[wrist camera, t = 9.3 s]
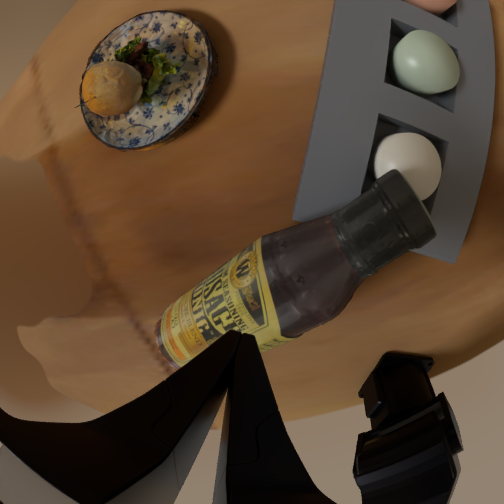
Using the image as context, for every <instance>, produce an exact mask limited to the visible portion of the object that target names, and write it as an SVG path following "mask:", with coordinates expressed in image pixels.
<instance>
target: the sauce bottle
mask: <svg viewBox="0 0 504 504" xmlns="http://www.w3.org/2000/svg"><path fill="white" fill-rule="evenodd" d="M436 235H437V231H436V228H435V225H434V223H433V220H432V219H431V217H430V215H429V213H428V211H427V209H426V208H425V206H424V204H423V203H422V201H421V200H420V198H419V197H418V195H417V194H416V192H415V191H414V189H413V188H412V186H411V185H410V183H409V182H408V181H407V179H406V178H405V177H404V175H403V174H402V173H401V172H399V171H398V170H397V169H392V170H390V171H389V172H386V173H385V174H384V175H382V176H381V177H379V178H377V179H376V181H375V182H374V184H373V186H372V187H371V188H370V189H369V190H368V191H366V192H365V193H363V194H362V195H360V196H359V197H357V198H356V199H355V200H353V201H352V202H350V203H349V204H348V205H346V206H344V207H343V208H342V209H340V210H336V211H335V212H334V213H332V214H329V215H326V216H323V217H319V218H316V219H313V220H310V221H307V222H304V223H301V224H298V225H295V226H292V227H289V228H286V229H283V230H280V231H277V232H274V233H271V234H268V235H265V236H262V237H261V238H259V239H258V240H256V241H255V242H254V243H252V244H251V245H250V246H248V247H247V248H245V249H244V250H243V251H241V252H240V253H239V254H238V255H236V256H235V257H234V258H232V259H230V260H229V261H228V262H227V263H225V264H224V265H223V266H221V267H220V268H218V269H217V270H216V271H215V272H213V273H212V274H211V275H209V276H208V277H207V278H205V279H204V280H203V281H201V282H200V283H199V284H198V285H196V286H195V287H193V288H192V289H191V290H189V291H188V292H187V293H185V294H184V295H183V296H181V297H180V298H179V299H177V300H176V301H175V302H173V303H172V304H171V305H170V306H169V307H168V308H167V309H166V311H165V312H164V313H163V314H162V315H161V317H160V318H159V320H158V322H157V324H156V329H155V332H154V333H155V340H156V344H157V347H158V350H159V351H160V354H161V356H162V358H163V360H164V361H165V362H166V363H167V364H168V365H170V366H172V367H173V368H175V369H176V370H178V369H180V368H181V367H182V366H184V365H185V364H186V363H188V362H189V361H190V360H192V359H193V358H194V357H196V356H197V355H198V354H199V353H201V352H202V351H203V350H205V349H206V348H207V347H208V346H210V345H211V344H212V343H213V342H215V341H216V340H217V339H219V338H220V337H221V336H222V335H224V334H225V333H226V332H227V331H229V330H230V329H232V330H236V331H240V332H242V334H243V333H248V334H253V335H254V336H255V337H256V341H257V344H258V347H259V350H260V353H262V352H265V351H267V350H269V349H272V348H274V347H277V346H279V345H282V344H284V343H286V342H288V341H291V340H293V339H295V338H298V337H299V336H301V335H302V334H303V333H304V332H307V331H309V330H311V329H313V328H315V327H318V326H319V325H323V324H325V323H327V322H328V321H330V320H332V319H333V318H335V317H336V316H337V315H339V314H340V313H341V312H342V311H343V309H344V308H345V307H346V305H347V304H348V302H349V301H350V300H351V298H352V296H353V293H354V292H355V291H356V289H357V288H358V287H359V286H360V284H361V283H362V282H363V281H364V279H365V278H366V277H369V276H370V275H373V274H375V273H377V271H378V270H379V269H380V268H382V267H383V266H385V265H387V264H389V263H390V262H391V261H393V260H394V259H396V258H398V257H399V256H401V255H403V254H404V253H406V252H407V251H408V250H412V249H418V248H421V247H423V246H424V245H425V244H427V243H428V242H430V241H431V240H432V239H434V238H435V237H436Z"/></svg>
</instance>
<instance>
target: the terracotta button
mask: <svg viewBox="0 0 504 504" xmlns="http://www.w3.org/2000/svg"><path fill="white" fill-rule="evenodd" d="M402 1H404V2H407V3H409V4H411V5H414V6H416V7H418V8H420V9H422V10H425V11H427V12H429V13H431V14H433V15H435V16H437V17H438V16H439V15H441V14H442V13H443V12H444V11H446V10H447V9H448V8H450V7H451V6H452V5H453V4H455V3H456V2H457V0H402Z"/></svg>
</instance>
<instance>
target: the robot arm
mask: <svg viewBox="0 0 504 504" xmlns="http://www.w3.org/2000/svg"><path fill="white" fill-rule="evenodd" d="M386 358H387V359H386ZM433 364H434V360H433V358H427V357H417V356H408V355H400V354H392V353H386V354H384V355H383V356H382V357H381V359H380V360H379V362H378V364H377V365H376V367H375V368H374V370H373V371H372V372H371V373H370V375H369V377H368V378H367V380H366V381H365V383H364V384H363V385H362V388H361V389H360V391H359V392H358V395H359V397H360V398H364V405H365V411H366V416H367V418H370V420H371V428H372V430H370V431H368V432H363V433H360V434H359V435H358V441H357V446H356V453H355V459H354V465H353V474H354V479H355V481H356V483H357V486H358V487H359V488H360V490H361V495H362V504H449V502H450V499H451V497H452V494H453V492H454V489H455V486H456V483H457V480H458V477H459V474H460V471H461V467H460V463H459V459H458V456H457V453H459V452H461V451H463V445H462V440H461V435H460V431H459V427H458V424H457V421H456V418H455V415H454V413H453V410H452V408H451V406H450V404H449V402H448V401H447V398H446V396H445V394H444V393H443V392H442V393H440V394H438V396H437V397H436V396H435V393H434V390H433V387H432V385H431V382H430V379H429V377H428V374H427V373H428V371H429V370H430V369H431V367H432V366H433ZM227 389H228V391H227ZM226 392H227V397H226V404H225V411H224V418H223V426H222V434H221V441H220V449H219V456H218V464H217V472H216V480H215V487H214V494H213V502H212V504H337V503H335V502H334V501H332V500H331V499H330V498H328V497H327V496H325V495H324V494H323V493H322V492H321V491H320V490H319V489H318V488H317V487H316V485H315V484H314V483H313V481H312V479H311V478H310V476H309V474H308V472H307V471H306V469H305V467H304V465H303V463H302V461H301V459H300V457H299V456H298V454H297V452H296V450H295V448H294V446H293V444H292V442H291V440H290V438H289V436H288V434H287V431H286V428H285V426H284V423H283V421H282V418H281V415H280V412H279V411H278V410H279V409H278V406H277V403H276V400H275V397H274V394H273V391H272V388H271V384H270V381H269V378H268V375H267V372H266V369H265V366H264V363H263V360H262V356H261V353H260V350H259V347H258V344H257V341H256V337H255V336H254V335H253V334H248V333H243V334H242V332H240V331H236V330H232V329H230V330H229V331H227V332H226V333H225V334H224V335H222V336H221V337H220V338H219V339H217V340H216V341H215V342H213V343H212V344H211V345H210V346H208V347H207V348H206V349H205V350H203V351H202V352H201V353H199V354H198V355H197V356H196V357H194V358H193V359H192V360H190V361H189V362H188V363H186V364H185V365H184V366H182V367H181V368H180V369H178V370H177V371H176V372H174V373H173V374H172V375H170V376H169V377H168V378H166V379H165V380H164V381H162V382H161V383H159V384H158V385H157V386H155V387H154V388H152V389H151V390H149V391H148V392H146V393H145V394H143V395H142V396H140V397H138V398H136V399H135V400H133V401H131V402H129V403H127V404H125V405H123V406H121V407H119V408H117V409H115V410H113V411H111V412H109V413H107V414H105V415H103V416H101V417H99V418H97V419H94V420H92V421H87V422H82V423H55V422H37V421H27V420H21V419H18V418H14V417H12V416H11V415H9V414H7V413H6V412H5V411H4V410H2V409H1V408H0V442H1V443H2V444H3V445H2V446H1V448H0V504H174V502H175V500H176V498H177V496H178V493H179V491H180V490H181V488H182V486H183V484H184V482H185V480H186V478H187V476H188V474H189V472H190V470H191V468H192V465H193V463H194V461H195V459H196V457H197V455H198V453H199V451H200V449H201V447H202V445H203V443H204V440H205V438H206V436H207V434H208V432H209V430H210V428H211V425H212V423H213V421H214V419H215V417H216V415H217V412H218V410H219V408H220V406H221V404H222V401H223V399H224V397H225V395H226Z"/></svg>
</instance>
